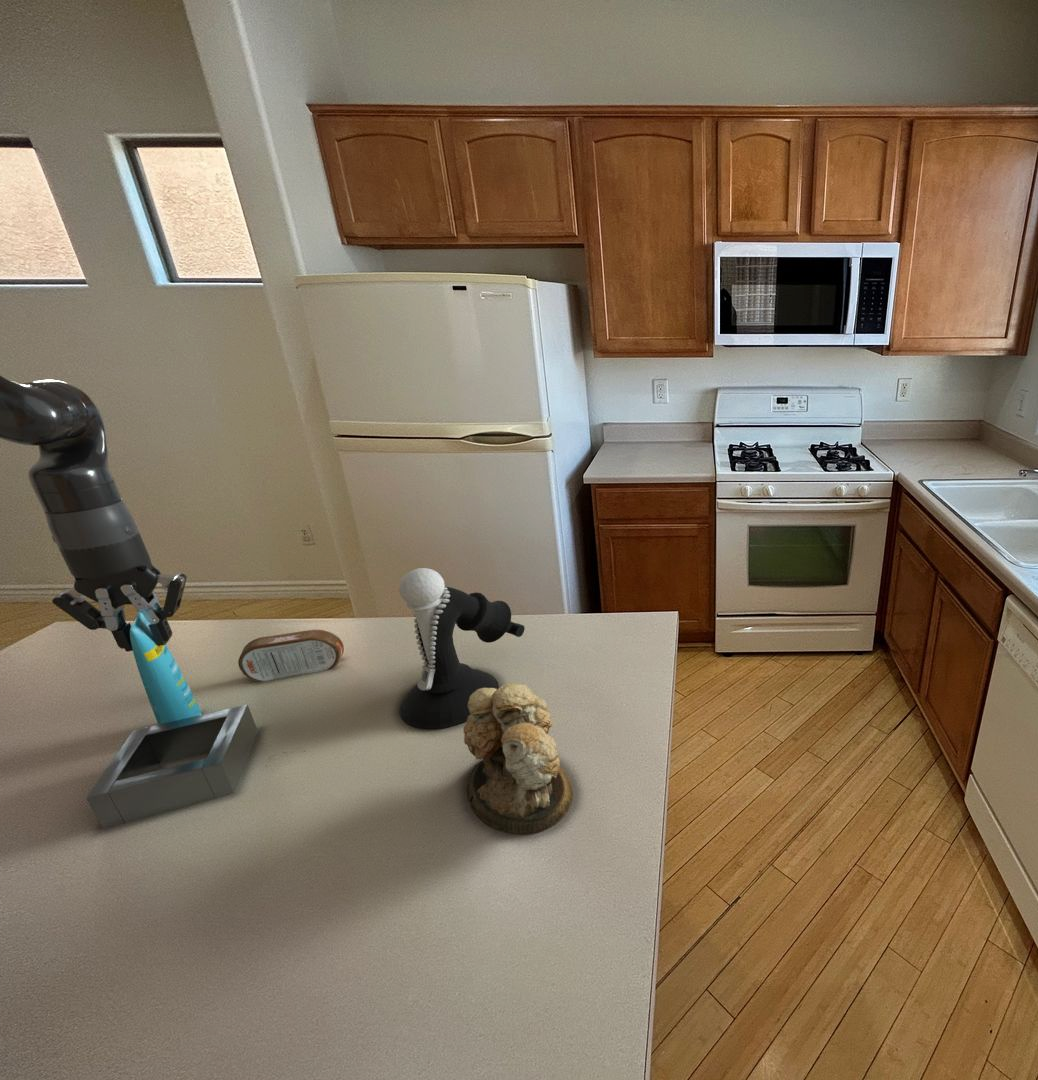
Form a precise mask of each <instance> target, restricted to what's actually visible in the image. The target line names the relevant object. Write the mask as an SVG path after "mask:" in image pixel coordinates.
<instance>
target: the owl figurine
mask: <svg viewBox="0 0 1038 1080" xmlns="http://www.w3.org/2000/svg"><path fill="white" fill-rule="evenodd" d="M468 709H469V711H470V714H471V715H469V716H468V719H467V722H465V724H464V725H463V736H464V738H463V742H464V745H467V749H468V751H469V752H470V754H471V755H472V756H474V757H475V760H480V761H479V762H478V763H477V764H476V765H475V767H474V768H473V769H472V770H471V772H470V775H469V777H468V780H467V784H466V797H467V801H468V803H470V808H471V810H472V811H473V812H474V814H475V815H476V817H478V818H479V820H481V822H483V823H484V824H486V825H487V826H489V827H490V828H491V829H492V828H493V829H494V830H497V831H500V832H503V833H505V834H511V835H533V834H537V833H542V832H544V831H546V830H549V829H551V828H552V827H554V826H556V825H557V824H558V823H559V822H561V821H562V820H563V819H564V817H565V816H567V813H568V812H569V810H570V808H571V806H572V804H573V799H574V793H573V786H572V783H571V780H570V778H569V777H568V774H567V773H566V771H565V770H564V769H563V767H561V759H560V758H559V757H560V756H559V752H558V750H557V749H558V746H557V745H558V744H556V740H555V739H554V738H553V737H551V735H550V734H549V731H550V728H552V727H553V721H552V719H551V718H552V717H551V716H552V715H551V712H550V711H549V710H548V704H547V702H546V701H545V700H544V699H543V698H542V697H539V696H538V695H536V694H535V693H533V692H532V689H530V688H529V687H528V686H527V685H526V684H524V683H509V684H503V685H501V686H499V689H495V688H481V689H478V690H476V691H475V692H474V693H472V695H471V696H470V698H469V701H468Z"/></svg>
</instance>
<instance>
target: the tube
mask: <svg viewBox="0 0 1038 1080" xmlns="http://www.w3.org/2000/svg"><path fill="white" fill-rule="evenodd" d="M149 624H150V623H149V622H148V621H147V620H146V618H145V617H144V615H143V614H142V613H141V612H138V611H137V612H136V614H135V618H134V620H133V622H132V624H131V628H130V640H131V645H132V649H133V651H132V654H133V657H134V660H135V663H136V667H137V670H138V673H139V676H140V680H141V683H142V684H143V688H144V691H145V693H146V697H147V698H148V702H149V704H150V707H151V709H152V712H153V715H154V717H155V720H156V723H157V725H159V724H163V723H168V722H172V721H176V720H181V719H185V718H190V717H194V716H199V715H203V713H202V710H201V708H200V706H199V704H198V702H197V700H196V697H195V696H194V694H193V692H192V690H191V688H190V686H189V684H188V682H187V681H186V678H185V676H184V673H182V670H181V668H180V667H179V665H178V663H177V661H176V659H175V658H174V656H173V654H172V652H171V651H170V648H169V647H168V645H167V644H166V645H162V646H158V645H157V643H156V641H155V639H154V637H153V635H152V632H151V630H150V628H149V626H148V625H149Z"/></svg>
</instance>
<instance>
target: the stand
mask: <svg viewBox="0 0 1038 1080" xmlns="http://www.w3.org/2000/svg"><path fill="white" fill-rule="evenodd" d="M258 734H259V729H258V727H257V725H256V721H255V720H254V716H253V714H252V712H251V709H250V707H249V704H243V705H240V706H235V707H229V708H225V709H222V710H217V711H212V712H208V713H204V714H203V713H202V715H199V716H194V717H190V718H185V719H181V720H176V721H172V722H168V723H163V724H159V725H158V724H155V725H150V726H146V727H141V728H138V729H133V730H131V733H130V734H129V735H128V737H127V738H126V739H125V741H124V743H123V744H122V745H121V747H120V748H119V750H118V751H117V752H116V754H115V756H114V757H113V759H111V761H110V762H109V764H108V765H107V767H106V768H105V769H104V772H103V773H102V774H101V775H100V777H99V778H98V780H97V781H96V783H95V784H94V786H93V787H92V788H91V790H90V791H89V792H88V794H87V795H86V797H85V800H86V801H87V803H88V805H89V807H90V808H91V810H92V812H93V813H94V815H95V816H96V819H97V820H98V822H99V823H100V826H101V827H102V829H103V830H106V829H110V828H112V827H113V828H114V827H117V826H120V825H125V824H127V823H131V822H135V821H138V820H142V819H145V818H149V817H150V818H151V817H153V816H156V815H160V814H163V813H168V812H171V811H175V810H178V809H182V808H185V807H190V806H193V805H196V804H200V803H204V802H207V801H211V800H215V799H218V798H222V797H226V796H228V795H233V794H235V791H236V789H237V787H238V784H239V782H240V779H241V776H242V774H243V772H244V770H245V767H246V764H247V762H248V759H249V757H250V755H251V752H252V749H253V747H254V744H255V741H256V739H257V737H258ZM208 752H209V753H208ZM205 753H208V754H207V756H206V758H203V759H202V758H201V759H198V760H194V761H191V762H187V763H182V764H178V765H173V766H170V767H167V768H161V769H158V768H159V766H160V764H164V763H168V762H172V761H176V760H181V759H184V758H185V759H186V758H189V757H191V756H196V755H200V754H205ZM157 769H158V770H157Z"/></svg>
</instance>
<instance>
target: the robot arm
mask: <svg viewBox="0 0 1038 1080" xmlns="http://www.w3.org/2000/svg"><path fill="white" fill-rule="evenodd" d="M0 440H3V441H7V442H9V443H14V444H16V445H22V446H30V447H31V446H32V447H36V446H37V448H38V452H39V458H38V460H37V461H36V462H35V463H34V464H33V465H32V466H31V467H30V468H29V469H28V472H27V477H28V482H29V484H30V487H31V488H32V490H33V492H34V495H35V496H36V499H37V500H38V502H39V505H40V506H41V509H42V510H43V513H44V515H45V519H46V523H47V526H48V530H49V531H50V533H51V538H52V540H53V542H54V543H55V544H56V546H57V548H58V550H59V552H60V554H61V556H62V558H63V561H64V562H65V565H66V566H67V569H68V571H69V573H70V575H71V576H72V577H73V578H74V584H73V587H72V588H69V589H64V590H63V591H61V592H60V593H58V594H57V595H56V596H54V598H52V604H53V605H55V606H56V607H58V608H59V609H60V610H62V611H63V612H64V613H66V614H67V615H69V616H70V617H71V618H73V619H74V620H75V621H77V622H79V623H80V624H81V625H83V626H84V627H85V628H87V629H88V630H91V631H95V630H98V629H103V630H104V629H105V630H107V631H110V632H111V635H112V637H113V638H114V640H115V643H116V646H117V647H118V648H120V649H121V650H123V649H124V651H125V652H127V653H128V652H129V653H130V652H133V649H132V645H131V640H130V628H131V626H132V624H131V622H126V620H127V618H126V613H125V606H126V605H133V607H134V608H135V610H136V611H137V612H141V613H142V614H143V615H144V617H145V618H146V620H147V621H148V622H149V623H150V624H149V625H148V626H149V628H150V630H151V632H152V635H153V637H154V639H155V641H156V643H157V645H158V646H162V645H167V644H168V642H169V641H170V639H171V638H172V636H173V629H172V628H171V626H170V623H169V621H168V618H172V617H173V616H174V615H175V614H176V613H177V612H178V610H179V609H180V607H181V604H182V599H183V595H184V591H185V587H186V583H187V577H188V576H187V575H186V574H184V573H177V574H176V575H171V574H165V573H161V571H160V569H158V568H156V566H154V565H153V563H152V560H151V556H150V554H149V552H148V550H147V547H146V545H145V543H144V541H143V538H142V535H141V533H140V530H139V529H138V526H137V524H136V521H135V519H134V516H133V515H132V513H131V510H130V509H129V508H128V507H127V504H126V503H125V501H124V499H123V498H122V495H121V493H120V491H119V488H118V486H117V484H116V481H115V479H114V477H113V475H112V473H111V470H110V468H109V451H108V444H107V436H106V429H105V423H104V421H103V416H102V414H101V412H100V410H99V408H98V406H97V404H96V403H95V402H94V401H93V399H92V398H91V397H90V396H89V394H87V393H86V392H84V391H83V390H82V389H80V388H79V387H77V386H75V385H73V384H72V383H68V382H65V381H61V380H55V379H41V380H34V381H30V382H23V383H18V382H16V381H12V380H10V379H8V378H7V377H5V376H3V375H1V374H0ZM158 584H161V587H162V590H164V591H165V592H166V596H165V600H164V605H163V606H162V604H161V603H160V601H159V599H160V598H159V597H158V595H157V594H156V592H155V591H154V590H155V589H156V587H157V585H158ZM86 598H88V599H90V600H91V601H93V602H95V603H98V607H99V609H98V608H97V607H95V606H94V605H92V604H91V603H90V602H88V601H87V600H86Z"/></svg>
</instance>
